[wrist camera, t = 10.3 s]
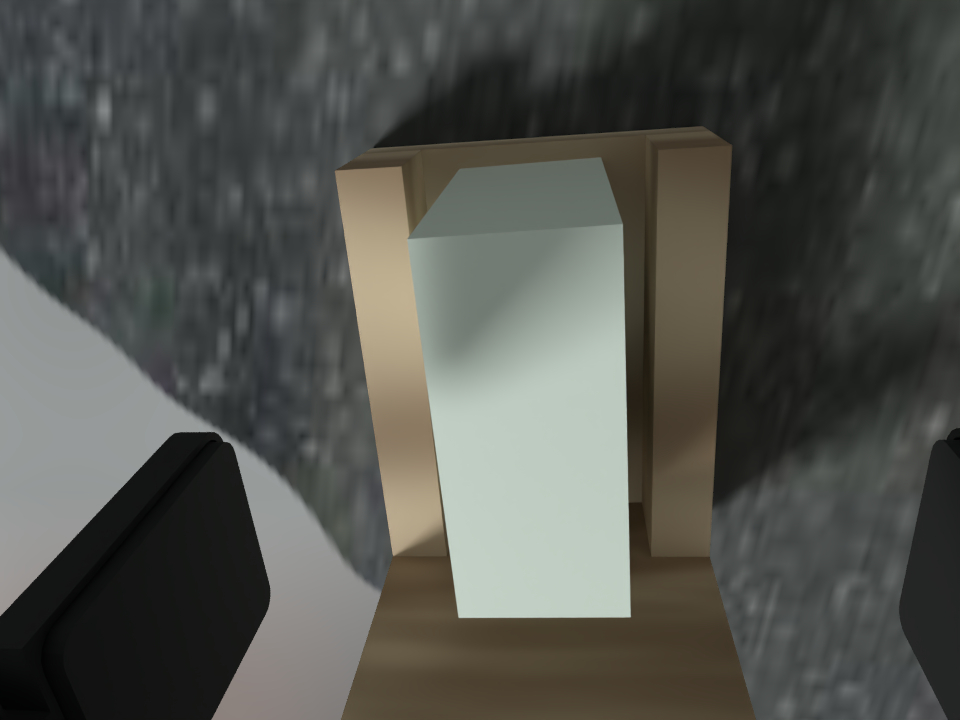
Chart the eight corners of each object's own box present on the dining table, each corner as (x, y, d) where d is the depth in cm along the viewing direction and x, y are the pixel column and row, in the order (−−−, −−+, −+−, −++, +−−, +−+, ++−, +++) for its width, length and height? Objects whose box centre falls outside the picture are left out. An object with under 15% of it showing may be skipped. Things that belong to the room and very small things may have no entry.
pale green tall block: (459, 168, 19) (407, 239, 12) (600, 157, 18) (623, 223, 12) (488, 446, 22) (458, 617, 15) (609, 442, 21) (630, 617, 15)
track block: (371, 148, 20) (235, 231, 11) (702, 126, 19) (815, 198, 10) (420, 524, 24) (350, 774, 16) (686, 523, 23) (755, 790, 15)
